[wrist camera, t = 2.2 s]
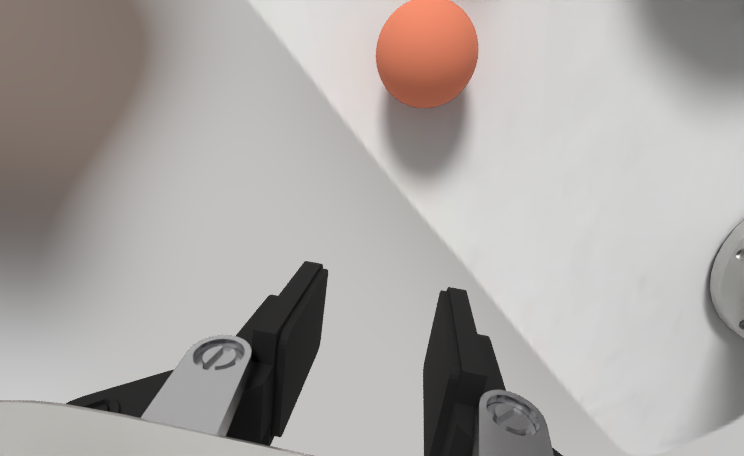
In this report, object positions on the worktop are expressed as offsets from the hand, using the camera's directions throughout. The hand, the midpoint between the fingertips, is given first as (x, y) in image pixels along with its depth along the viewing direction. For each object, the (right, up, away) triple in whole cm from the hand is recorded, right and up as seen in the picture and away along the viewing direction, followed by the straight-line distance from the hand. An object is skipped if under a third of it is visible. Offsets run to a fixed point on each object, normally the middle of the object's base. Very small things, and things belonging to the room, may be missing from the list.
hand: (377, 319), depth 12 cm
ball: (+3, +13, +10) cm, 17 cm away
